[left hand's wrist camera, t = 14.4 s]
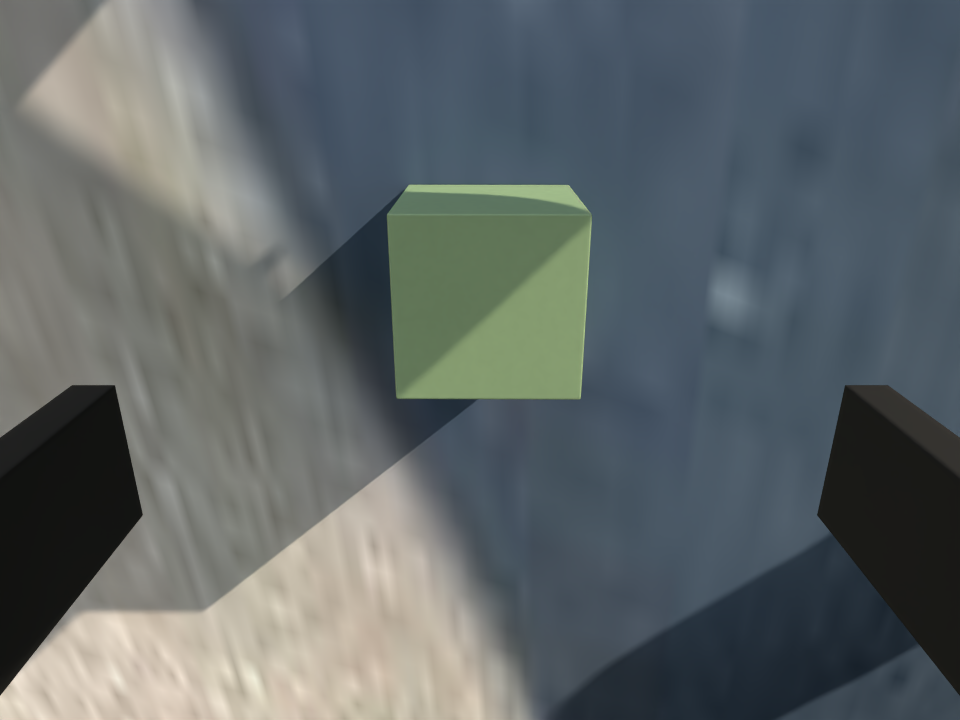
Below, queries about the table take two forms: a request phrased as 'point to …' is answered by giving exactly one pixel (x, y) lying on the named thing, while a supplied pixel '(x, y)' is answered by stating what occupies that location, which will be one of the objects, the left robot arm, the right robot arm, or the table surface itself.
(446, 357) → the green block
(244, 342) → the table surface
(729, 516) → the table surface
